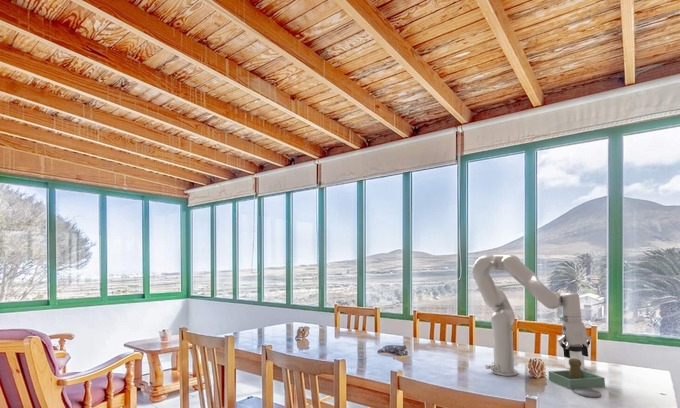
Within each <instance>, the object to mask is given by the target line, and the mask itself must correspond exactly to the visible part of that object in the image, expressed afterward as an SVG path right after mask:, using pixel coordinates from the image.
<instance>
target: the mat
mask: <svg viewBox="0 0 680 408" xmlns="http://www.w3.org/2000/svg"><path fill="white" fill-rule="evenodd" d="M573 392H574V394H576V395H577V396H579V397H584V398H590V399H597V398H601V397H602V392H600V391H598V390H596V389H594V388H575V389H573Z"/></svg>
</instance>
